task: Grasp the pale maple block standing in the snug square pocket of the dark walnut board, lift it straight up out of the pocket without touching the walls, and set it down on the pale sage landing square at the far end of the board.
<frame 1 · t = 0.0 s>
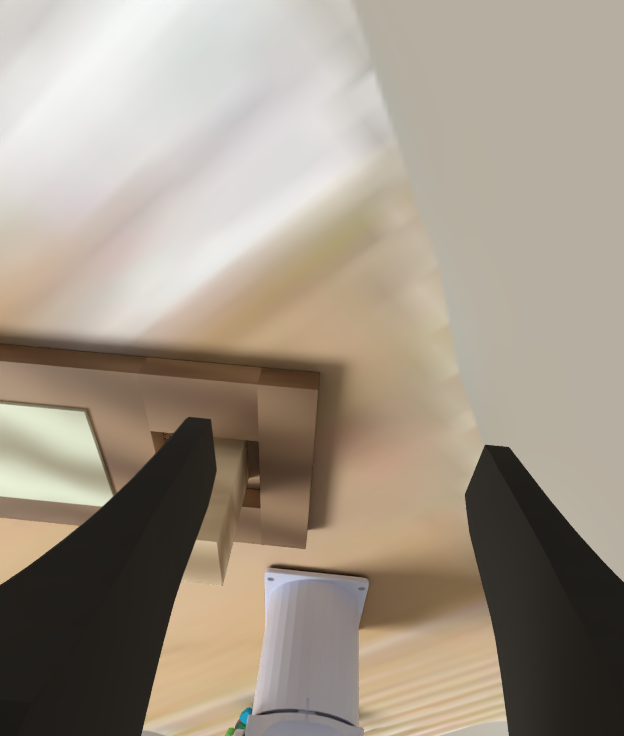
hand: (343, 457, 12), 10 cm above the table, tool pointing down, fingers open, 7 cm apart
gear: (277, 702, 54), on the table
maple block: (215, 453, 28), resting in pocket board
pocket board: (134, 446, 28), on the table
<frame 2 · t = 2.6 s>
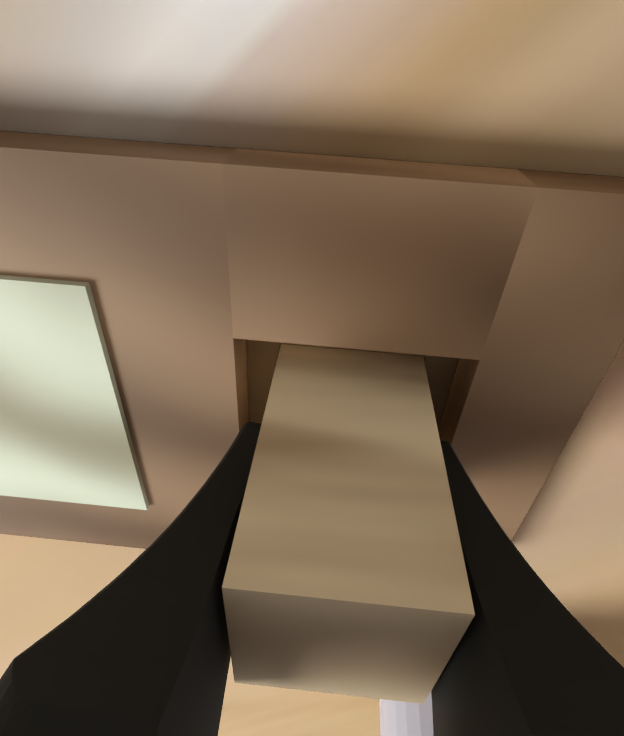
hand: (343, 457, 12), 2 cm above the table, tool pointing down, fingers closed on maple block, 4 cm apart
maple block: (344, 403, 14), resting in pocket board, touching gripper
pocket board: (184, 388, 14), on the table
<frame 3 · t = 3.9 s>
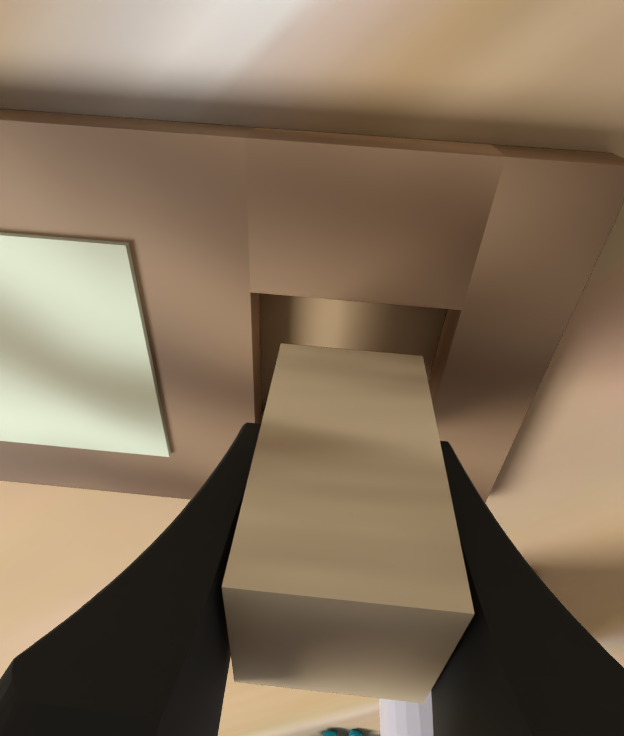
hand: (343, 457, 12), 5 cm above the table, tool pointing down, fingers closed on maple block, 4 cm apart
maple block: (344, 402, 14), point 2 cm above the table, touching gripper
pocket board: (204, 345, 16), on the table
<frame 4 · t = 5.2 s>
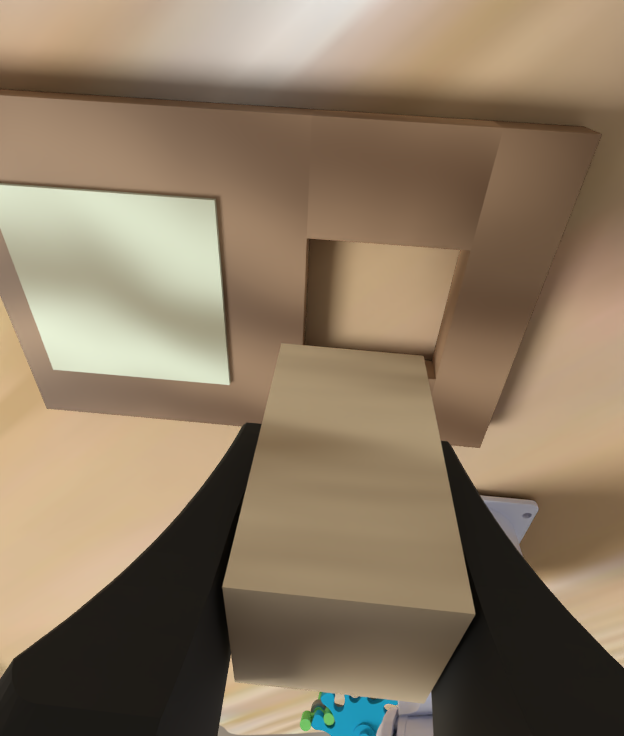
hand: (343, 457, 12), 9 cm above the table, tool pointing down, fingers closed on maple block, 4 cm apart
gear: (358, 683, 46), on the table
maple block: (345, 402, 14), point 7 cm above the table, touching gripper
pocket board: (261, 289, 20), on the table
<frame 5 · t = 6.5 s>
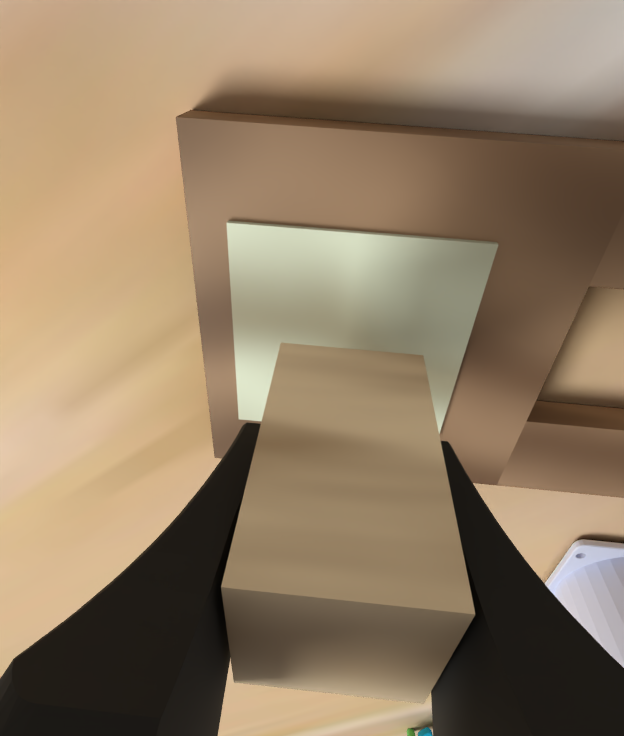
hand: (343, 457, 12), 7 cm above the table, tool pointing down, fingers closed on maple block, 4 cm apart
gear: (451, 721, 44), on the table
maple block: (344, 402, 14), point 5 cm above the table, touching gripper
pocket board: (489, 335, 18), on the table
when the fingers open (5 cm above the table, at t = 7.6 s): maple block drops 1 cm, resting on pocket board.
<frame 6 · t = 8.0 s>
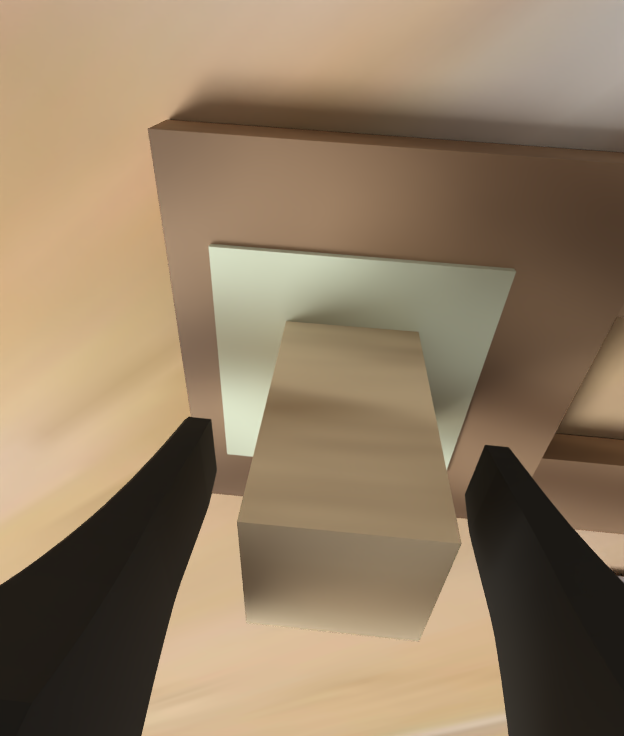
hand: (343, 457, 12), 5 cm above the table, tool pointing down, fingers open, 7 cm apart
maple block: (345, 378, 15), point 2 cm above the table, touching pocket board
pocket board: (502, 365, 16), on the table
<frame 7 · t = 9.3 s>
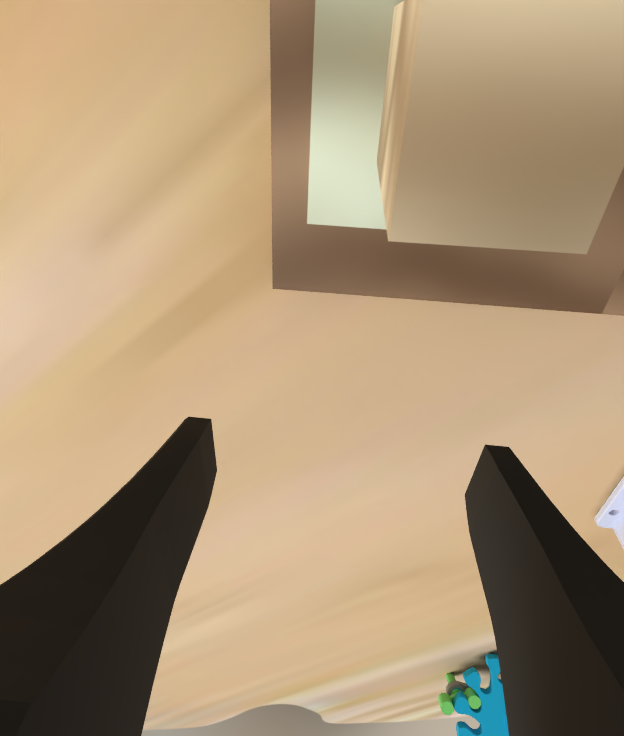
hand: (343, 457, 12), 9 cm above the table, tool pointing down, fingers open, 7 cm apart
gear: (496, 663, 41), on the table
maple block: (451, 94, 14), point 2 cm above the table, touching pocket board
pocket board: (613, 100, 15), on the table
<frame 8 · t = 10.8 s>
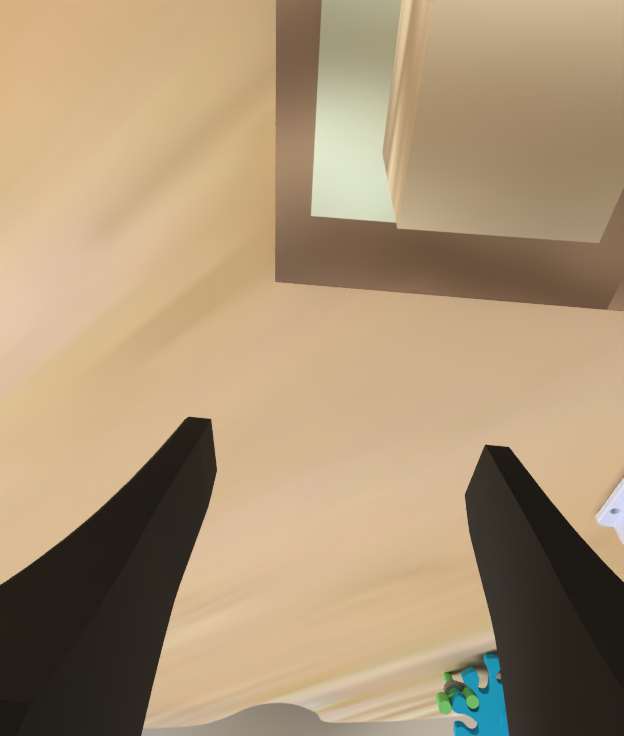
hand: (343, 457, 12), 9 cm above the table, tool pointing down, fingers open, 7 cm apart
gear: (493, 663, 41), on the table
maple block: (458, 84, 13), point 2 cm above the table, touching pocket board
pocket board: (621, 92, 15), on the table
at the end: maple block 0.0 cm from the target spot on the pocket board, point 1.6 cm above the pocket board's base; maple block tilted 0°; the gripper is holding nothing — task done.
